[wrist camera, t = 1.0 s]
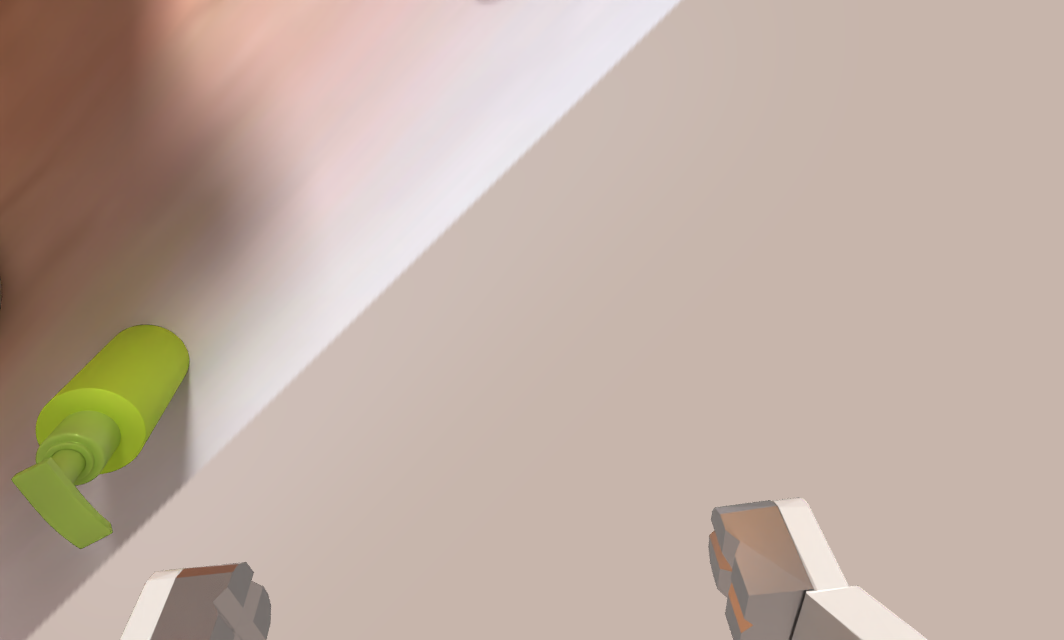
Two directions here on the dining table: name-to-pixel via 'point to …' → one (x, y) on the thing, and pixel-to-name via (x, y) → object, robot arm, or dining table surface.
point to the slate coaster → (0, 293)
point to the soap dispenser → (100, 426)
